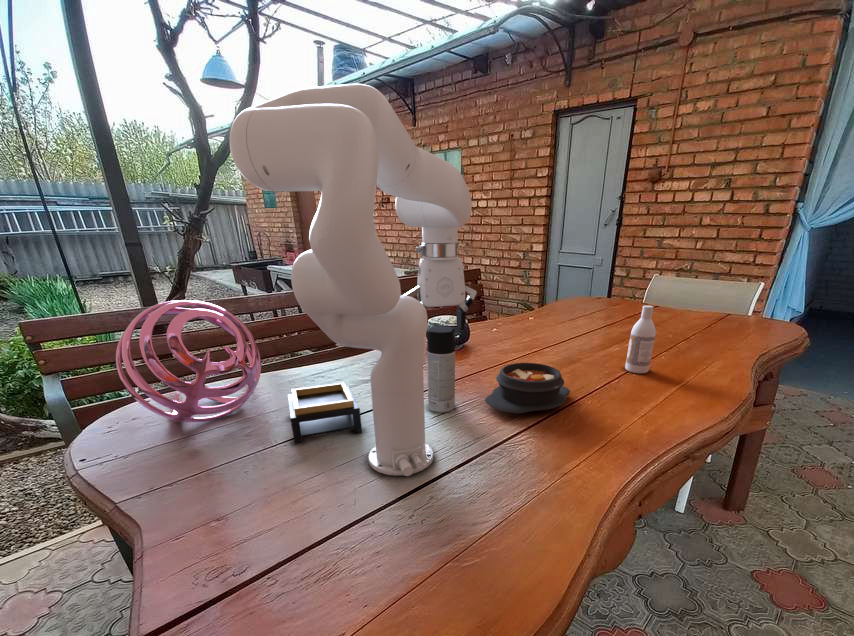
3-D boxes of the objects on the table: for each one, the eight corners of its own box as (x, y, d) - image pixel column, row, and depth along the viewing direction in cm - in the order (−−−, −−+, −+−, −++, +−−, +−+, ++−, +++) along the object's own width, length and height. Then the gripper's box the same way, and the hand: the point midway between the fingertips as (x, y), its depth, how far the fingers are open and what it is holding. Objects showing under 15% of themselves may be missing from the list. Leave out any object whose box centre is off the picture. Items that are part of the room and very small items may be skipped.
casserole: (524, 428, 95) (527, 394, 92) (468, 404, 108) (468, 372, 105) (586, 400, 111) (590, 369, 107) (530, 381, 123) (532, 353, 120)
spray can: (456, 403, 109) (456, 325, 101) (453, 414, 102) (453, 332, 94) (430, 401, 109) (428, 325, 101) (426, 412, 103) (424, 332, 95)
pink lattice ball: (101, 327, 99) (119, 265, 81) (229, 335, 119) (267, 287, 101) (115, 443, 94) (137, 404, 76) (247, 430, 114) (289, 397, 96)
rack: (362, 432, 93) (359, 401, 90) (294, 444, 88) (289, 411, 85) (350, 408, 105) (348, 380, 102) (291, 417, 100) (286, 388, 97)
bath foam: (624, 365, 137) (635, 303, 129) (647, 368, 135) (660, 304, 127) (624, 372, 131) (635, 307, 123) (648, 375, 129) (661, 309, 121)
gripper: (406, 254, 85) (410, 337, 92) (483, 251, 91) (481, 329, 98) (396, 251, 91) (400, 329, 98) (469, 249, 97) (468, 322, 104)
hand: (441, 329), depth 98 cm, fingers open, 9 cm apart
